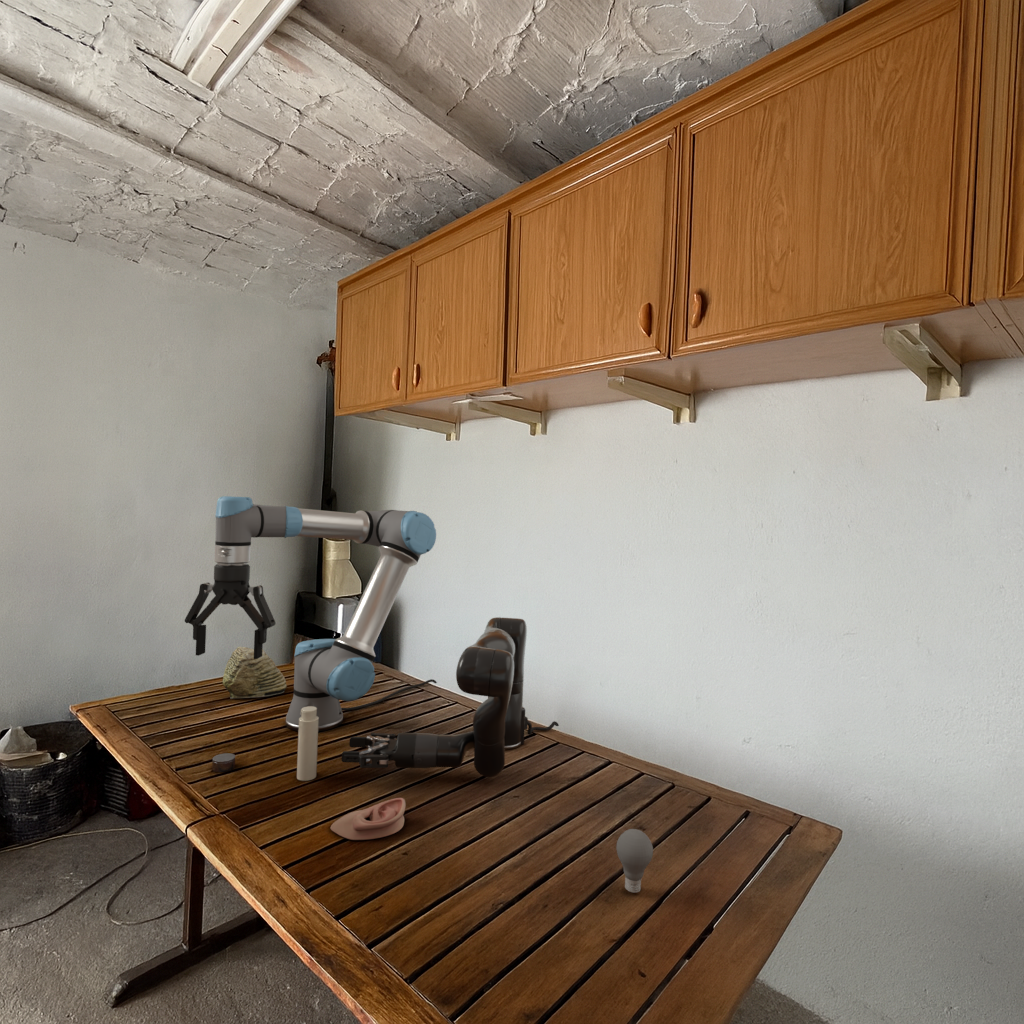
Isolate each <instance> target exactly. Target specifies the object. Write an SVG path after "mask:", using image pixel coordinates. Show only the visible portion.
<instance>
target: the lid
mask: <svg viewBox="0 0 1024 1024" xmlns="http://www.w3.org/2000/svg"><path fill="white" fill-rule="evenodd" d="M211 761H212V762H211V764H212V765H211V770H212V771H213V772H215V773H225V772H226V773H227V772H229V771H232V770H234V769H235V767H236V755H235V754H234V753H228V752H225V753H219V754H216V755H214V756H213V757H212V760H211Z"/></svg>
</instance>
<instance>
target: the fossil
mask: <svg viewBox="0 0 1024 1024" xmlns="http://www.w3.org/2000/svg"><path fill="white" fill-rule="evenodd" d="M222 676H223V677H222V685H223V687H224V688H225V690H226V691H228V693H229V698H230V699H250V698H264V697H271V696H275V695H281V694H284V693H285V691H286V689H287V687H288V686H287V680H286V678H285V676H284V674H283V673H282V672H281V669H279V668H278V667H277V665H276V663H275V662H274V660H273V659H272V658H271V657H270V656H269V655H268V654H267V653H266V652H265V650H264V649H263V648H262V657H260V658H258V659H254V648H251V647H247V646H246V647H245V646H238V647H237V648H236V649H235V650H233V651H232V653H231V656H230V657H229V659H228V660H227V663H226V666H225V668H224V671H223V675H222Z"/></svg>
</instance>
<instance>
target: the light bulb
mask: <svg viewBox="0 0 1024 1024" xmlns="http://www.w3.org/2000/svg"><path fill="white" fill-rule="evenodd" d="M615 849H616V854H617V857H618V859H619V861H620V863H621V865H622V867H623V873H624V874H623V875H624V876H625V878H624V888H625V890H627V891H628V892H630V893H634V894H635V893H639V892H640V891H641V889H642V887H641V886H642V879H643V877H644V875H645V871H646V868H647V867H648V866H649V864H650V863H651V861H652V859H653V855H654V847H653V843H652V841H651V838H649V836H648V835H647V834H646V833H645V832H643V831H642V830H641V829H636V828H629V829H627V830H625V831H623V832H622V833H621V834H620V835H619V837H618V839H617V841H616V847H615Z"/></svg>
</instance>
